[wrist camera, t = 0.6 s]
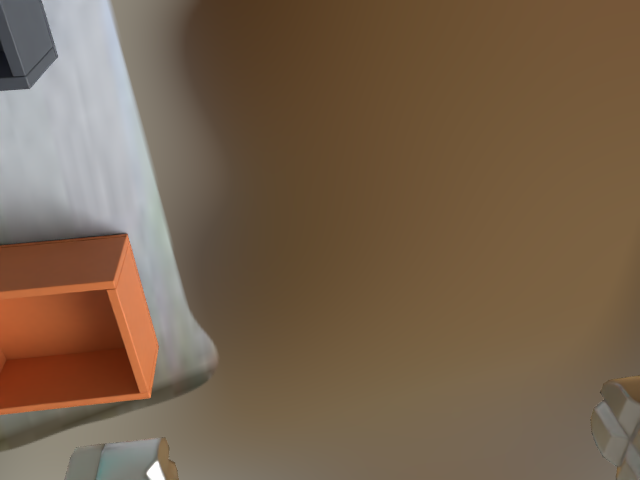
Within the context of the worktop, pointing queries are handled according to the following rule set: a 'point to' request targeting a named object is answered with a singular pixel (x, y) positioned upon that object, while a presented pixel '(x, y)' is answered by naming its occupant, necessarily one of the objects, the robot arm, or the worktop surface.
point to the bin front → (24, 43)
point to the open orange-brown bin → (73, 325)
